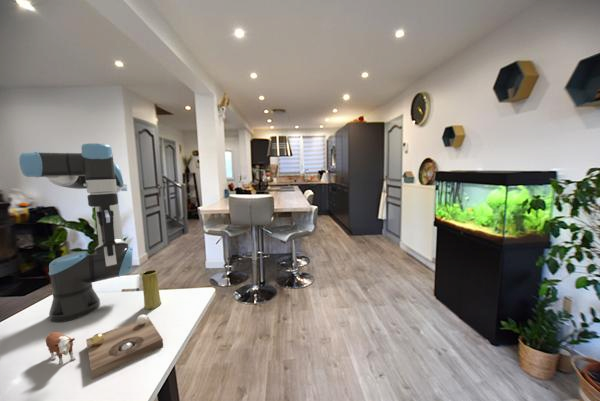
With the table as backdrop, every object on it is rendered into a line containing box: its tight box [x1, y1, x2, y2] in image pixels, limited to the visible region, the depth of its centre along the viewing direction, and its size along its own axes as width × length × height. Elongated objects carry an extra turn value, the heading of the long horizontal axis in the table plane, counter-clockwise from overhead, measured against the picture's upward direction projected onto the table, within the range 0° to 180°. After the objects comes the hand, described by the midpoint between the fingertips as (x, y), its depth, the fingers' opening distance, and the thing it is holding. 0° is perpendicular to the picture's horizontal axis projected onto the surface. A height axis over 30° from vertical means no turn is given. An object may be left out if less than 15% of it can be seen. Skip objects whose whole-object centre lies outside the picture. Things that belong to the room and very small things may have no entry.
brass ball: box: [91, 333, 104, 346], centre depth 75 cm, size 3×3×3 cm
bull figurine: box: [45, 331, 76, 366], centre depth 72 cm, size 4×13×8 cm, turn 58°
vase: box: [141, 269, 162, 310], centre depth 101 cm, size 6×6×14 cm
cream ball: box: [135, 314, 148, 325], centre depth 84 cm, size 3×3×3 cm
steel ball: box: [120, 342, 133, 351], centre depth 74 cm, size 3×3×3 cm
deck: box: [85, 316, 164, 380], centre depth 77 cm, size 18×17×2 cm
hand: (111, 264), depth 81 cm, fingers closed
